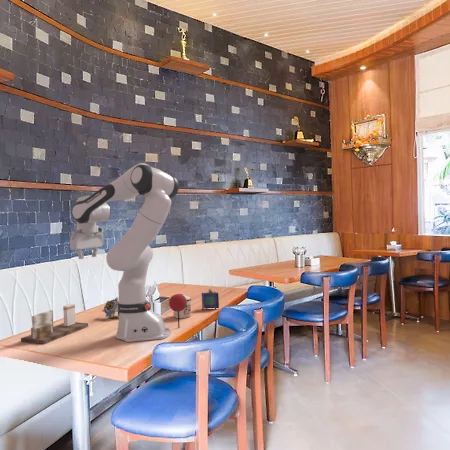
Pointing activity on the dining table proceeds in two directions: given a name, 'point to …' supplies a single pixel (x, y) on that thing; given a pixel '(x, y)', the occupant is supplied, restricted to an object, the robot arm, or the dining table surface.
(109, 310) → the passion flower
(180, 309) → the lollipop
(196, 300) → the dining table surface
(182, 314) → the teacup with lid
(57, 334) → the board
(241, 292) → the dining table surface
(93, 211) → the robot arm
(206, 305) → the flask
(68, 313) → the white striped box
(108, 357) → the dining table surface
